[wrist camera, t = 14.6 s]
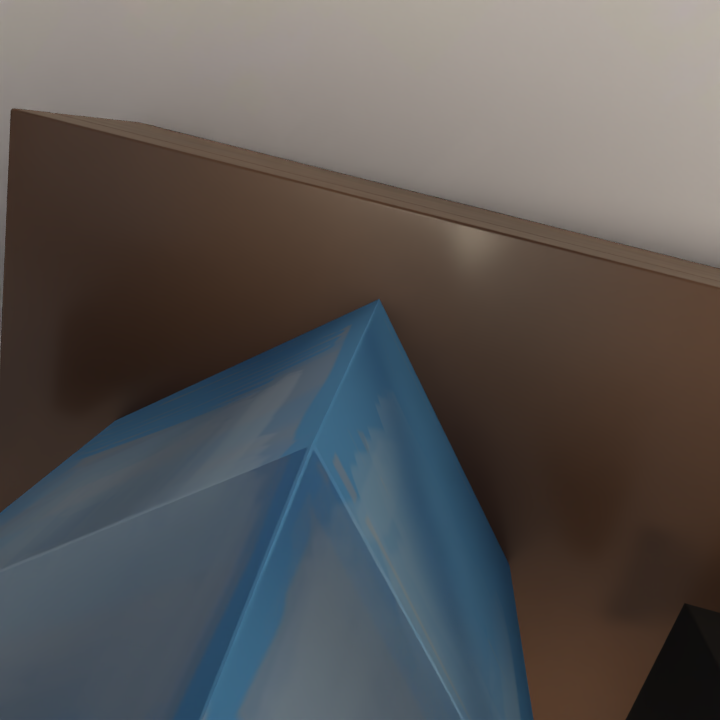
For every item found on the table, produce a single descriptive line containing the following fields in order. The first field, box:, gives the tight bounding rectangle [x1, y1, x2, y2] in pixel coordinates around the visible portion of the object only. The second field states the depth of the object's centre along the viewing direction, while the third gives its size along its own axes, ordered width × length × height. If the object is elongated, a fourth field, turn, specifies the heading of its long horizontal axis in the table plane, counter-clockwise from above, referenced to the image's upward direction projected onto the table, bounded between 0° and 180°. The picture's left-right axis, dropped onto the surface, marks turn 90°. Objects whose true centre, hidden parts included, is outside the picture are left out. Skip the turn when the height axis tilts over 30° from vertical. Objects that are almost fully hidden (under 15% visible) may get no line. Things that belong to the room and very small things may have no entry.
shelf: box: [0, 108, 720, 720], centre depth 14 cm, size 18×12×8 cm, turn 77°
